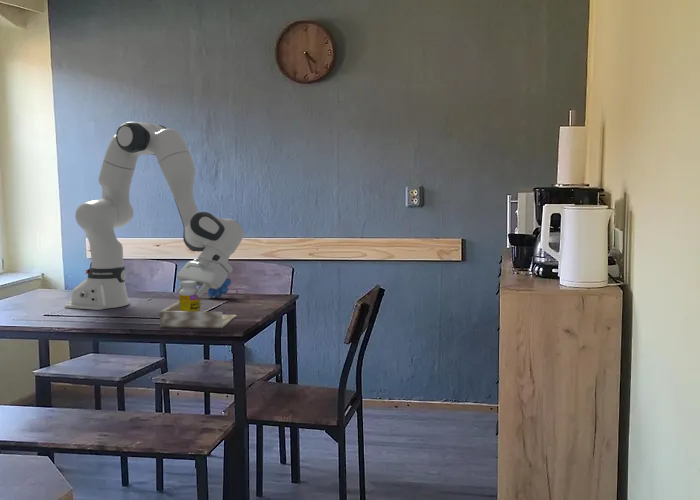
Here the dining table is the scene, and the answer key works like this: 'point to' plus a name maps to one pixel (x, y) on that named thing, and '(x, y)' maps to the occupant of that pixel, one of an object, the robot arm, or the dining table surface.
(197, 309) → the supplement bottle
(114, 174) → the robot arm
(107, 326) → the dining table surface
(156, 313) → the dining table surface
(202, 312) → the tray
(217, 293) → the blue flower shape
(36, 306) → the dining table surface
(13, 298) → the dining table surface
